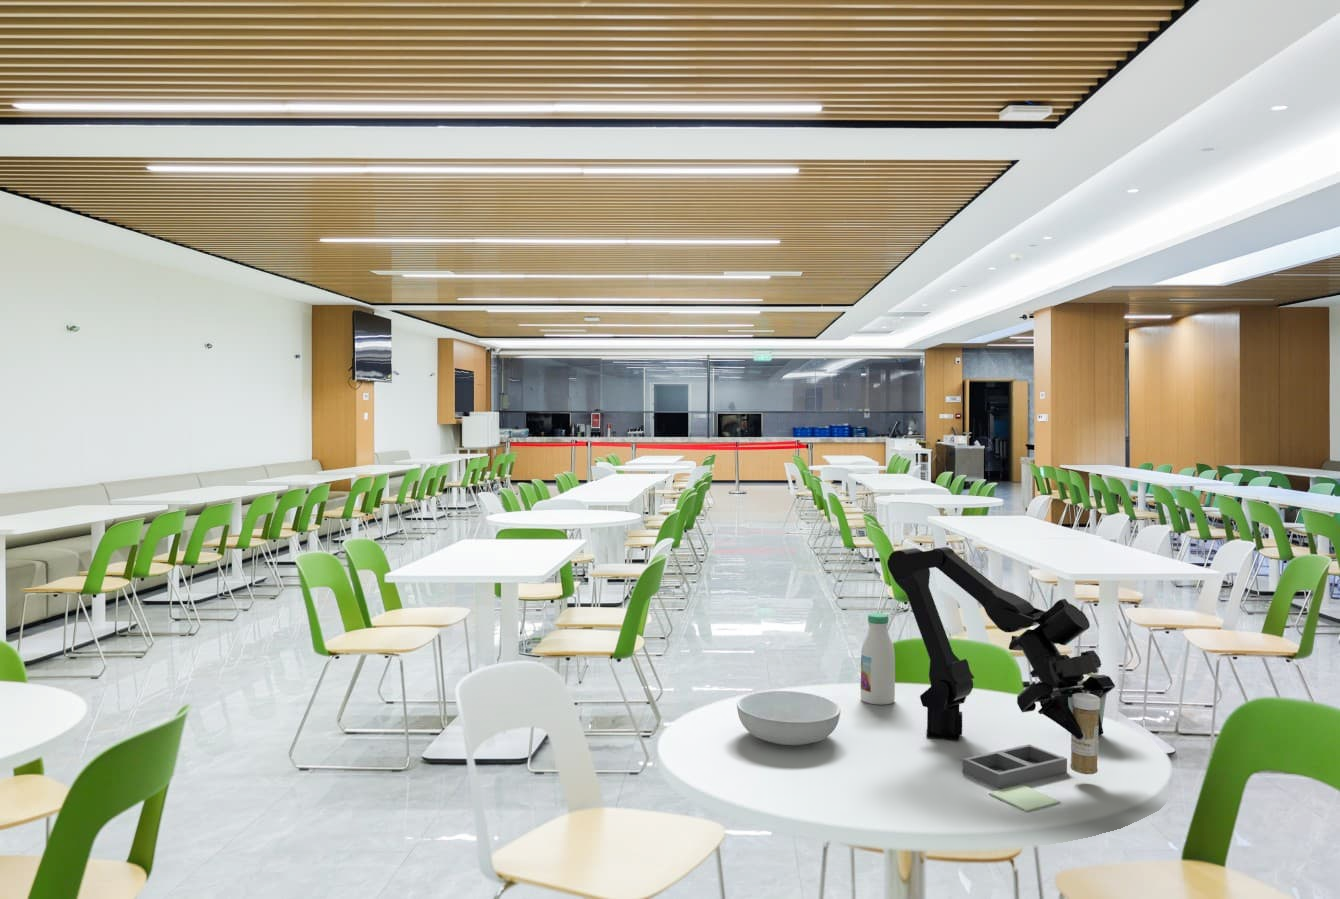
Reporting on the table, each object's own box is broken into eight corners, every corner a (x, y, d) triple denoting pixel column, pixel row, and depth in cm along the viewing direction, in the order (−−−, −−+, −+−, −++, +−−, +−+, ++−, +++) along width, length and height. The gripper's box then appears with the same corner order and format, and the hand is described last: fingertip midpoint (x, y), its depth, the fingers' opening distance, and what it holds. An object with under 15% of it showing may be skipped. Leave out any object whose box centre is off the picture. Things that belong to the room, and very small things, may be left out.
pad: (1022, 786, 160) (1022, 784, 160) (1060, 802, 152) (1060, 801, 152) (989, 794, 156) (989, 792, 156) (1026, 811, 149) (1026, 810, 149)
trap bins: (1029, 757, 174) (1029, 744, 174) (1066, 772, 166) (1067, 758, 166) (962, 772, 166) (962, 758, 166) (998, 788, 158) (999, 774, 158)
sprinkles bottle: (1066, 771, 161) (1068, 696, 161) (1074, 763, 165) (1076, 690, 164) (1094, 777, 158) (1096, 701, 158) (1101, 770, 162) (1103, 695, 161)
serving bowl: (793, 764, 170) (793, 728, 170) (715, 736, 185) (715, 703, 185) (861, 740, 183) (861, 706, 183) (783, 715, 199) (783, 684, 199)
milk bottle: (896, 697, 213) (896, 612, 212) (892, 707, 205) (893, 619, 205) (862, 694, 215) (863, 610, 215) (858, 703, 208) (859, 616, 208)
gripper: (1030, 639, 161) (1078, 720, 151) (1108, 631, 168) (1158, 708, 158) (997, 672, 168) (1041, 751, 158) (1073, 663, 175) (1119, 738, 165)
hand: (1091, 736), depth 160 cm, fingers closed on sprinkles bottle, 4 cm apart
